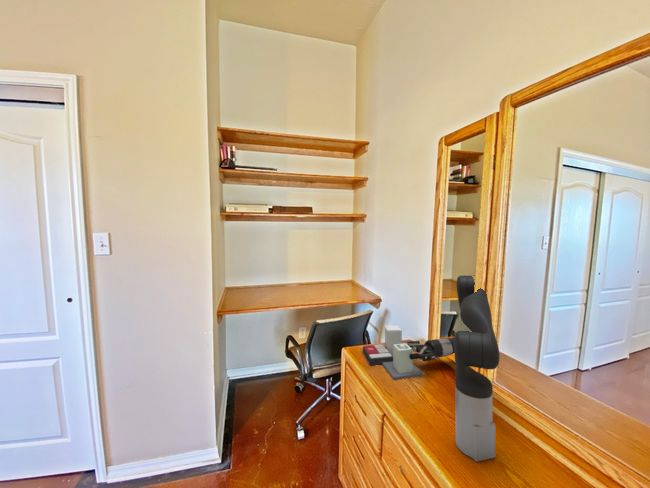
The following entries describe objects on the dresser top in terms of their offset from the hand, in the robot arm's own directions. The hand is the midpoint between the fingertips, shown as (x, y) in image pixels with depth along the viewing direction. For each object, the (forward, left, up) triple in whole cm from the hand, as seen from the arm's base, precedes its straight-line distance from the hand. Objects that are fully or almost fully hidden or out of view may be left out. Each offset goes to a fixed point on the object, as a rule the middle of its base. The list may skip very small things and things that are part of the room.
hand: (405, 352), depth 117 cm
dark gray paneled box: (+15, +7, -9) cm, 19 cm away
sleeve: (0, +1, -7) cm, 7 cm away
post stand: (+2, +1, -9) cm, 9 cm away
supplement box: (+18, -3, -9) cm, 21 cm away
